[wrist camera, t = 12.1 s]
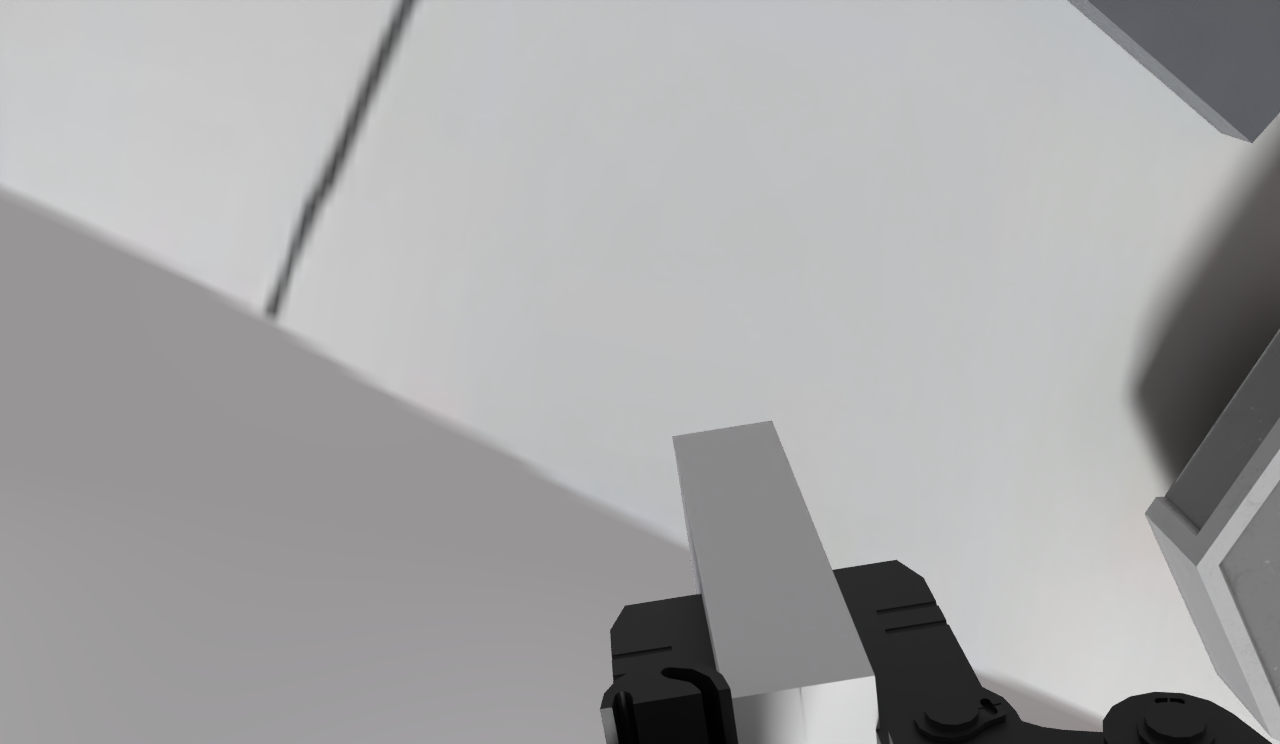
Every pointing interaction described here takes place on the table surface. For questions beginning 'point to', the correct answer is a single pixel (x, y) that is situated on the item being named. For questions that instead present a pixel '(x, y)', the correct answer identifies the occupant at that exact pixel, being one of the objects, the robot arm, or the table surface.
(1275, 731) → the first aid kit
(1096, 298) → the table surface
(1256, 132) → the base
